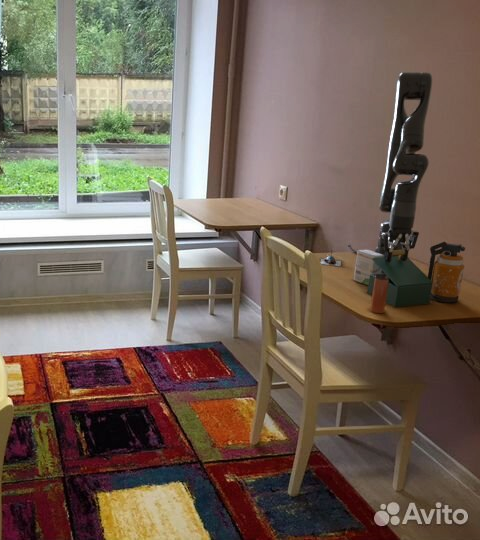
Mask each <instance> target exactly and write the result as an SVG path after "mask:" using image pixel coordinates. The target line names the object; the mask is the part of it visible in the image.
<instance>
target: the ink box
mask: <svg viewBox="0 0 480 540" xmlns="http://www.w3.org/2000/svg"><path fill="white" fill-rule="evenodd" d="M356 252H357V253H356V258H355V267H354V274H353V281H355V282H358V283H361V284H363V285H365V286H368V284H369V277H370V275H371V274H381V271H382V270H381V269H380V268H379V266H378V265H377V264H376V263H375V262H374V261H373V260H372V259H373V258H377V257H384V255H382V254H379V253H376V252H375V251H373V250H370V249H358V250H356Z"/></svg>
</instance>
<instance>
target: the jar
mask: <svg viewBox="0 0 480 540" xmlns="http://www.w3.org/2000/svg"><path fill="white" fill-rule="evenodd" d="M389 279H390V277H389V276H387V275H383V274H376V275H375V281H374V288H373V295H371V296H372V297H371V303H370V309H369V310H370V311H371V312H372V313H375V314H384V313H385V310H386V309H385V308H386V304H387V303H386V297H387V290H388V283H389Z"/></svg>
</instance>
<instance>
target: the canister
mask: <svg viewBox="0 0 480 540" xmlns="http://www.w3.org/2000/svg"><path fill="white" fill-rule="evenodd" d="M429 250H430V258H429V267H428V272H427V277H428V278H429V279H430V280H431V281H432V282H433V284H432V290H431V296H430V299H432V300H435V301H437V302H441V303H454V302H458V301H459V296H460V291H461V285H462V281H463V276H464V270H465V265H464V260H465V258H464V257H463V255H461V252H464V251H466V247H465V246H463V245H462V244H459V243H458V244H455V243H448V242H446V241H442V242H440V243H437V244H435V245H432V246H430V248H429ZM436 256H437V258H436Z"/></svg>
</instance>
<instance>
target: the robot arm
mask: <svg viewBox="0 0 480 540" xmlns="http://www.w3.org/2000/svg"><path fill="white" fill-rule="evenodd" d="M432 89H433V75H432V74H431V72H426V71H424V72H423V71H418V72H416V71H415V72H414V71H407V72H405V71H404V72H400V74H399V75H398V78H397V80H396V87H395V98H394V108H393V118H392V123H391V124H392V125H391V129H390V136H389V142H388V148H387V155H386V166H385V173H384V178H383V183H382V187H381V191H380V192H381V193H380V196H379V197H380V198H379V210H380V212H382V213H388V214H390V215H389V219H387V220H384V221H382V222H381V223H380V226H379V233H378V241H377V246H376V247H375V249H374V252H376V253H379V254H382V255H384V257H385V258H384V259H385V261H386V262H391V258H392V250H405V254H404V255H402V258H401V260H402V261H406V259H407V258H409V252H410V250H411V249H415V247H416V245H417V241H418V238H419V235H420V232H419V231H417V230H413V228H414V224H415V217H416V212H417V201H418V194H419V189H420V186H421V183H422V181H423V178H424V177H425V175H426V173H427V171H428V168H429V165H430V161H429V157H428V156H427V155H426V154H423V153H417V152H419V151H421V150H423V148H424V144H425V143H424V141H425V128H426V121H427V117H428V112H429V107H430V102H431V96H432V91H433V90H432ZM405 101H418V104H417V106H416V108H415V109H414V110H413V112H412V113H411V114H409V115H408V112H407V110H406V107H405ZM398 176H412V178H411V179H410V180H405V181H400V182H397V183H396V184H395V188H393V185H394V182H395V181H396V179H397V178H398ZM347 247H348V248H349V249H350V250H351V251H352V252H353V253H355V254H357V250H355V249H353V248H352V244H348V245H347ZM396 256H399V255H396ZM383 273H384V272H383V271H381V274H383Z"/></svg>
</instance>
